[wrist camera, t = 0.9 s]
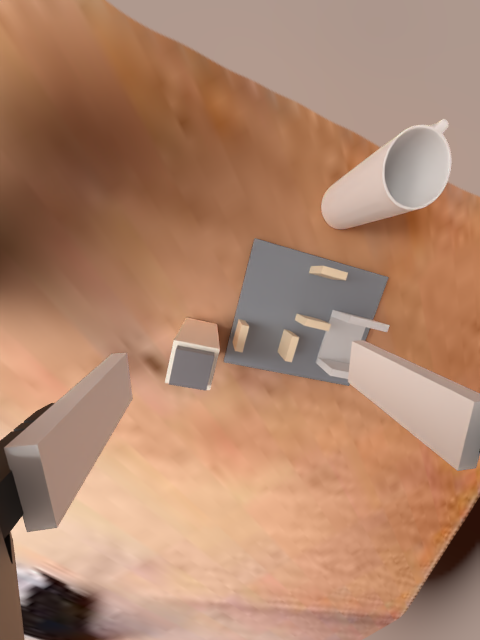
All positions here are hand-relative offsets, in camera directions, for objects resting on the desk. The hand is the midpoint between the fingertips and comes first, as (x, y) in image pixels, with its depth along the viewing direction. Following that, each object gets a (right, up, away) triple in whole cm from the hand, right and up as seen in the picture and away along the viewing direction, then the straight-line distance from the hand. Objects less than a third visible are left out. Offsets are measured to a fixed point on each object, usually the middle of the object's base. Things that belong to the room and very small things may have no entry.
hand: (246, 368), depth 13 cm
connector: (-6, +1, +20) cm, 21 cm away
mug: (+15, +20, +19) cm, 31 cm away
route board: (+9, +3, +21) cm, 24 cm away
